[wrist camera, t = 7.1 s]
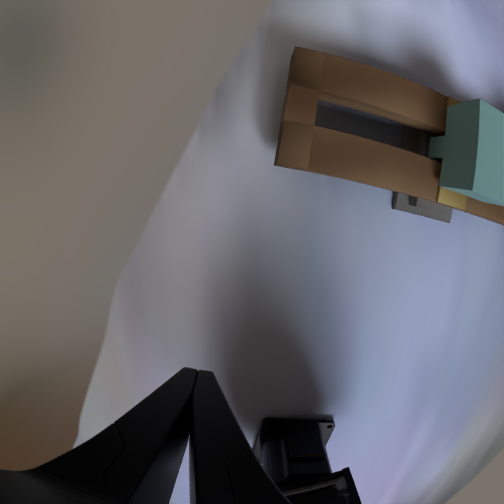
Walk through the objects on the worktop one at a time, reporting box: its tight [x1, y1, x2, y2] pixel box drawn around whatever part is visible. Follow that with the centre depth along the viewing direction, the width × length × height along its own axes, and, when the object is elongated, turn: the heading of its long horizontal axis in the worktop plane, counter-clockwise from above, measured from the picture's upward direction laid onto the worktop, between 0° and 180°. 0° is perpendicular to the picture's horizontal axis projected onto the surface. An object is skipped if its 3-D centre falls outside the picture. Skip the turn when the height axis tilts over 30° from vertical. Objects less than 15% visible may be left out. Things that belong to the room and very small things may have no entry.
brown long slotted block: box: [274, 47, 504, 225], centre depth 15 cm, size 9×22×6 cm, turn 81°
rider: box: [428, 99, 504, 206], centre depth 14 cm, size 5×4×5 cm
